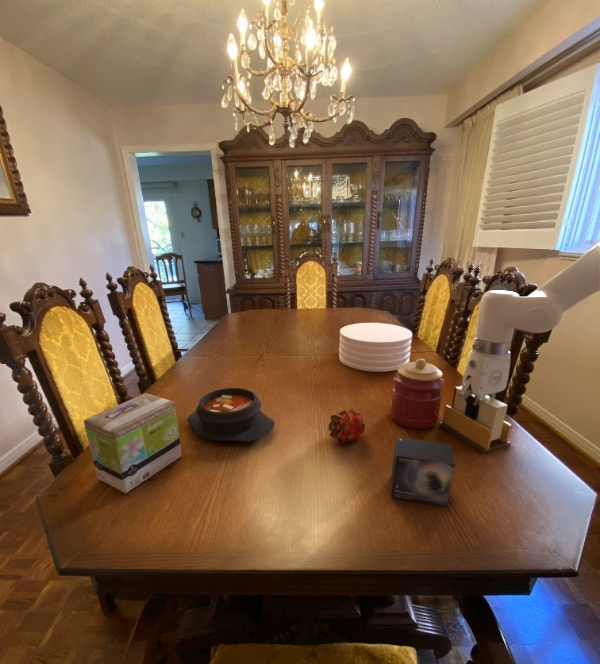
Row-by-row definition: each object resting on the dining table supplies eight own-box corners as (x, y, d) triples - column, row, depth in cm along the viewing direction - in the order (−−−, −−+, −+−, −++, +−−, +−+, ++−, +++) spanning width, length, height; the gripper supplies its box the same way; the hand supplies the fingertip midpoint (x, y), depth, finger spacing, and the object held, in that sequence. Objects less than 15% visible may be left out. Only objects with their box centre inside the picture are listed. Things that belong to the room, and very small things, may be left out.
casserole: (288, 422, 95) (287, 395, 92) (246, 459, 80) (244, 428, 77) (219, 402, 107) (216, 377, 104) (171, 431, 92) (166, 403, 89)
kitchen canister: (425, 436, 88) (434, 372, 82) (381, 418, 97) (386, 359, 90) (446, 417, 97) (456, 358, 90) (403, 402, 105) (410, 347, 99)
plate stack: (402, 348, 153) (405, 323, 149) (415, 372, 127) (419, 342, 123) (339, 347, 156) (339, 322, 152) (339, 370, 130) (339, 341, 126)
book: (459, 414, 94) (465, 384, 90) (500, 438, 83) (508, 405, 80) (449, 417, 92) (454, 387, 89) (489, 441, 82) (497, 408, 79)
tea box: (127, 495, 69) (111, 432, 64) (97, 479, 74) (80, 419, 69) (184, 455, 82) (175, 399, 76) (155, 444, 86) (144, 390, 81)
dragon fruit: (331, 455, 84) (352, 438, 93) (359, 445, 79) (379, 429, 89) (315, 423, 85) (338, 410, 94) (342, 411, 80) (364, 398, 89)
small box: (390, 499, 68) (395, 455, 64) (390, 478, 74) (394, 436, 70) (448, 509, 65) (456, 463, 61) (443, 485, 71) (451, 442, 67)
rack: (464, 418, 96) (467, 399, 94) (510, 445, 84) (515, 424, 82) (439, 425, 93) (442, 405, 91) (482, 454, 81) (487, 432, 79)
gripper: (477, 356, 73) (463, 430, 80) (531, 345, 79) (513, 415, 86) (450, 346, 80) (439, 415, 87) (502, 337, 86) (488, 403, 93)
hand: (476, 415), depth 86 cm, fingers closed on book, 3 cm apart
